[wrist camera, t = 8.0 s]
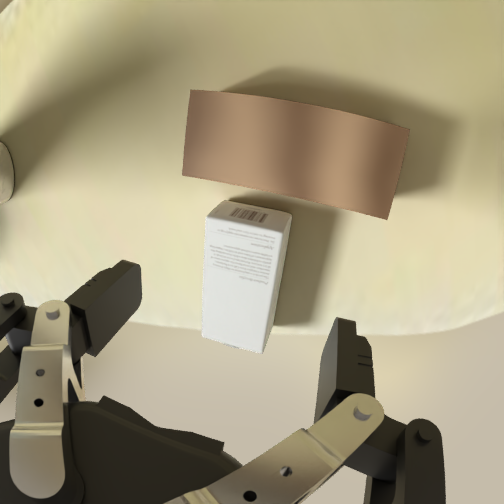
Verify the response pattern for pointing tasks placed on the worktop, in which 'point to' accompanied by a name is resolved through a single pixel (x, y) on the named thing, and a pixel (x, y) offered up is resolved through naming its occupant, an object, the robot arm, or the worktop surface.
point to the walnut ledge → (294, 150)
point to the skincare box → (242, 273)
